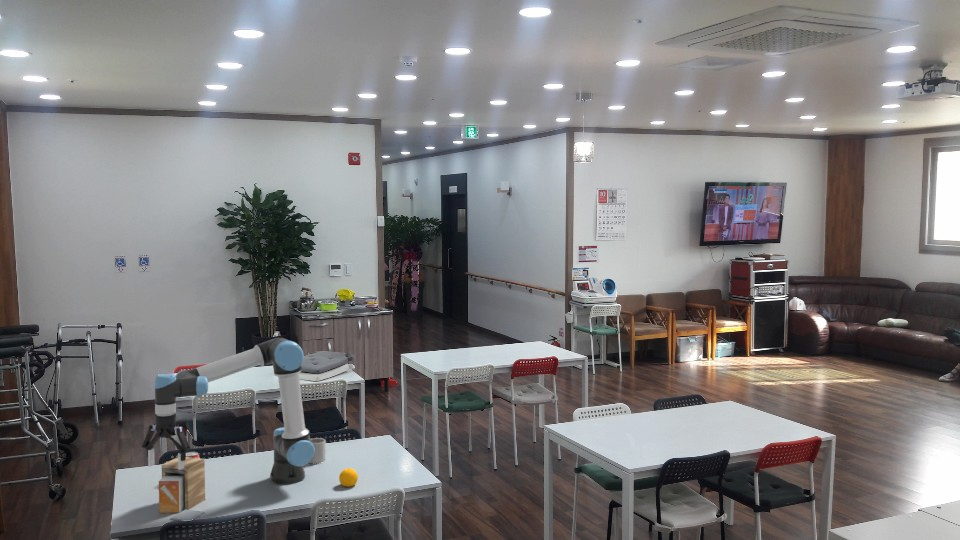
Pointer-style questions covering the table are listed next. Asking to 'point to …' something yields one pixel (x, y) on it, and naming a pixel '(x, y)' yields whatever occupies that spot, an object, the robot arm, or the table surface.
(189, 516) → the pad
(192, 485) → the dispenser
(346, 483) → the yellow ball
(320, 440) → the mug
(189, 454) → the soda can
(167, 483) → the small box
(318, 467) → the table surface
